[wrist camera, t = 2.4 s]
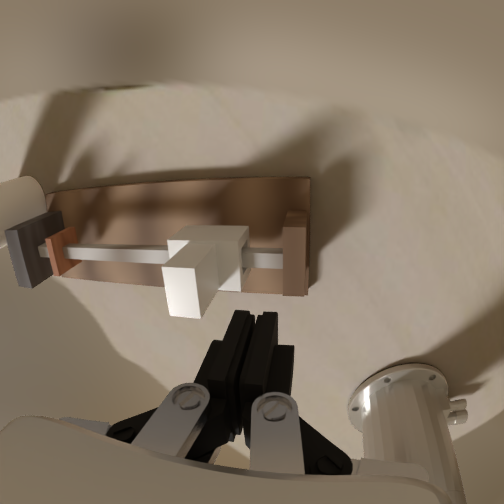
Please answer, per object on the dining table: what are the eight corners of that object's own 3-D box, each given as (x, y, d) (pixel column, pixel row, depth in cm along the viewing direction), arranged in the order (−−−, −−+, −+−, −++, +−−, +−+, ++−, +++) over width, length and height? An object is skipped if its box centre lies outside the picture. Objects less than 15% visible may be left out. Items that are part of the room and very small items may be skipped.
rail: (310, 177, 24) (309, 194, 17) (308, 288, 28) (304, 342, 21) (51, 192, 30) (0, 210, 22) (68, 272, 33) (24, 303, 26)
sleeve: (248, 225, 23) (220, 266, 16) (250, 270, 24) (226, 323, 17) (186, 225, 24) (138, 262, 17) (191, 267, 25) (149, 315, 18)
